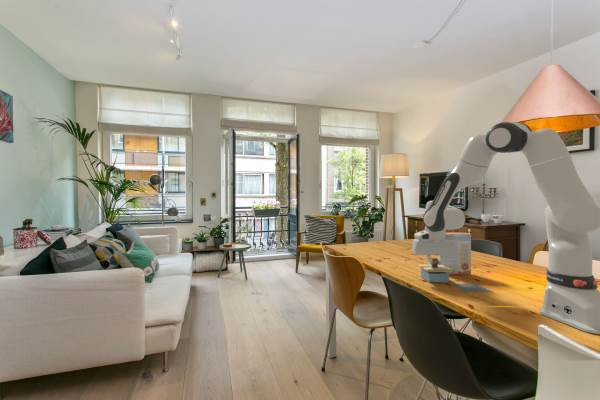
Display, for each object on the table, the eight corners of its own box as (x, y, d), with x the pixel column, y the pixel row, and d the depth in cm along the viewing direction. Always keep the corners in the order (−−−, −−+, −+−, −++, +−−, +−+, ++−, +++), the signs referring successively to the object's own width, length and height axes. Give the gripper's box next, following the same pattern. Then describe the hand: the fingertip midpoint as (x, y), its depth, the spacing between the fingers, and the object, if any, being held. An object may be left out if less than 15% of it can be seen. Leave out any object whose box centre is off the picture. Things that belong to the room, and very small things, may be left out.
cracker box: (465, 273, 156) (466, 232, 156) (471, 276, 150) (471, 233, 150) (437, 272, 157) (437, 231, 157) (441, 275, 151) (442, 233, 151)
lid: (452, 271, 137) (452, 261, 137) (428, 271, 137) (428, 261, 137) (440, 266, 148) (440, 256, 148) (418, 266, 148) (418, 256, 148)
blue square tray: (448, 283, 138) (449, 273, 138) (429, 283, 138) (429, 273, 138) (439, 277, 147) (439, 268, 147) (420, 278, 147) (420, 268, 147)
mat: (493, 293, 125) (493, 292, 125) (464, 293, 125) (464, 292, 125) (476, 284, 137) (476, 283, 137) (449, 284, 137) (449, 283, 137)
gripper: (453, 233, 145) (453, 262, 146) (410, 233, 145) (410, 262, 145) (460, 235, 139) (460, 265, 139) (416, 235, 139) (416, 266, 139)
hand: (434, 264), depth 142 cm, fingers closed on lid, 3 cm apart
